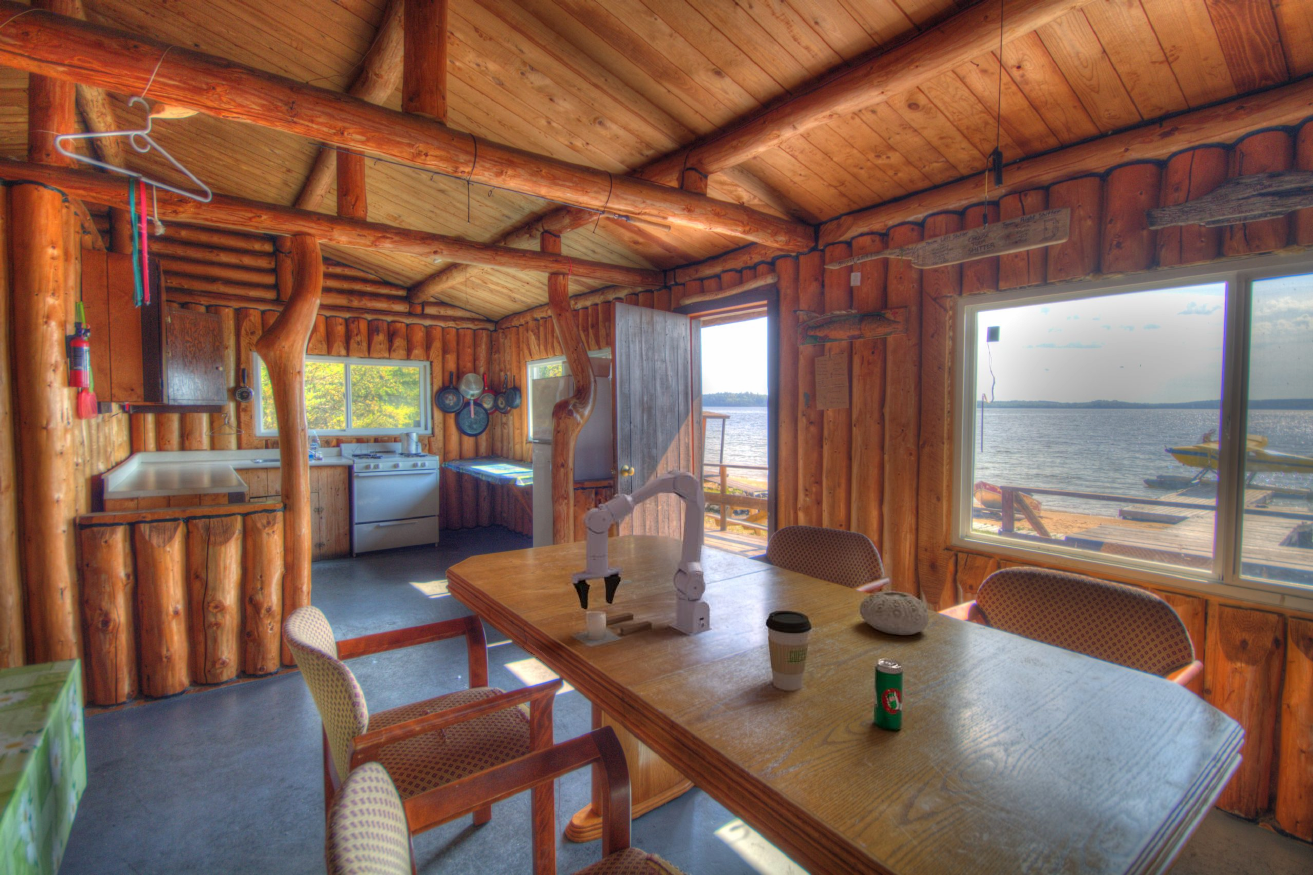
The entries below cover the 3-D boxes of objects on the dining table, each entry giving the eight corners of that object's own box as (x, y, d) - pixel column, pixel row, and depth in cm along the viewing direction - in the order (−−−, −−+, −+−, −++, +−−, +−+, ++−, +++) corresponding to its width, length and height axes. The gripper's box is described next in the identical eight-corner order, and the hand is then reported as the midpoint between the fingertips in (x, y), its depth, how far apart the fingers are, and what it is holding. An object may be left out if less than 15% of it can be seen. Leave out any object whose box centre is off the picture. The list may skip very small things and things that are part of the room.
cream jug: (609, 637, 157) (609, 615, 156) (592, 641, 154) (592, 618, 154) (596, 629, 162) (596, 607, 162) (579, 633, 160) (579, 611, 159)
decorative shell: (862, 637, 159) (863, 600, 159) (856, 616, 177) (857, 583, 176) (934, 643, 155) (935, 605, 155) (921, 621, 172) (921, 587, 172)
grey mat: (622, 639, 156) (622, 638, 156) (589, 648, 150) (589, 646, 150) (602, 629, 164) (602, 627, 164) (570, 636, 158) (570, 635, 158)
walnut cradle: (651, 630, 164) (651, 622, 164) (624, 637, 158) (624, 629, 158) (629, 619, 172) (629, 612, 172) (602, 625, 167) (602, 618, 167)
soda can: (878, 715, 117) (880, 655, 117) (905, 724, 114) (906, 662, 113) (869, 725, 113) (870, 663, 113) (897, 734, 110) (898, 670, 109)
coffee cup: (815, 694, 126) (816, 624, 125) (768, 694, 126) (769, 624, 125) (804, 674, 135) (805, 609, 135) (761, 674, 136) (762, 609, 135)
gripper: (612, 548, 164) (612, 597, 164) (565, 555, 155) (565, 606, 156) (626, 553, 158) (626, 603, 159) (578, 560, 150) (578, 613, 150)
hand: (596, 605), depth 157 cm, fingers open, 7 cm apart
